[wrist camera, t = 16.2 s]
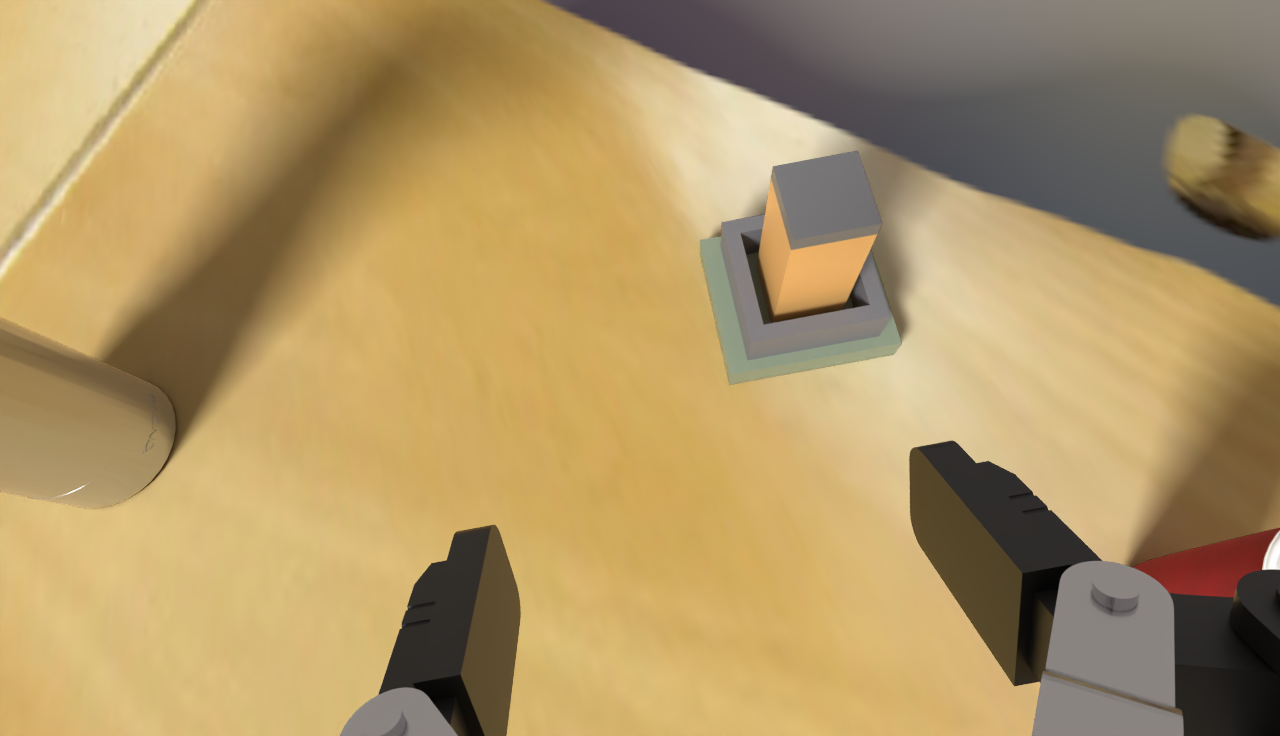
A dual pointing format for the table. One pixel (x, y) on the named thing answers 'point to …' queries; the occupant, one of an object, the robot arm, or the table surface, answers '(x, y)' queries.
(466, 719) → the robot arm
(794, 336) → the grey square tray
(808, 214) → the grey-capped square pillar
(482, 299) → the table surface
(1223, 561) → the paper cup
